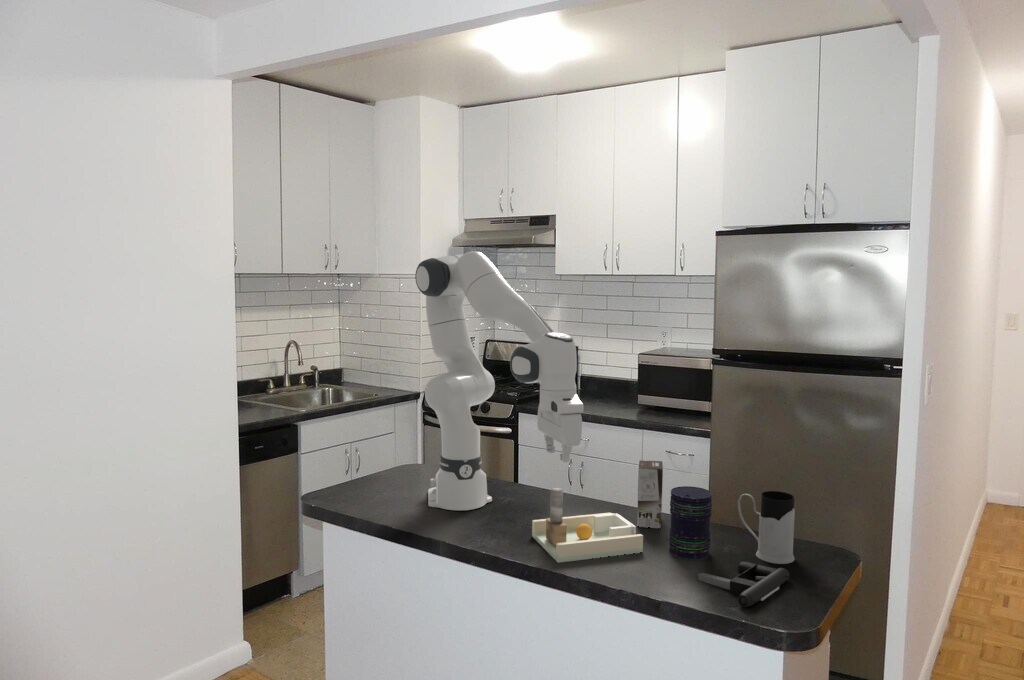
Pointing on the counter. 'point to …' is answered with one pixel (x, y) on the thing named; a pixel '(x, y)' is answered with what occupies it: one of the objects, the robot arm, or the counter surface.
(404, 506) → the counter surface
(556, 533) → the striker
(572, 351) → the robot arm
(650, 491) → the coffee box
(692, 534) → the storage jar
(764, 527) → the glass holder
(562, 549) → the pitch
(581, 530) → the ball
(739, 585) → the door handle
